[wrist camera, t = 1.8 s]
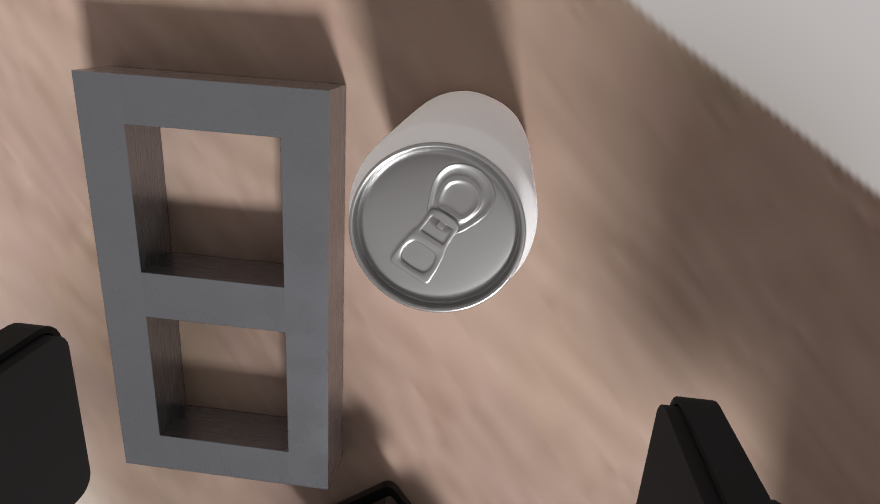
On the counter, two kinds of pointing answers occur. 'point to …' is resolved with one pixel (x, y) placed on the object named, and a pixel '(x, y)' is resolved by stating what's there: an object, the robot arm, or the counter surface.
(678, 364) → the counter surface
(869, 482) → the counter surface
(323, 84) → the grey windowed frame
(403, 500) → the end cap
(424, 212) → the can
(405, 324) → the counter surface
